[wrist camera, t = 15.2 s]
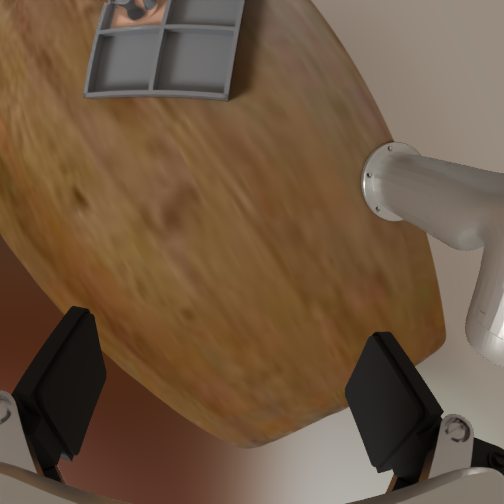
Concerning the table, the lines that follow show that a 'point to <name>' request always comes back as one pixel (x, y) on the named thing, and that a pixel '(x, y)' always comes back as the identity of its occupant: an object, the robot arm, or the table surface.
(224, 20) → the gray compartment tray
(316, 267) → the table surface
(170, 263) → the table surface
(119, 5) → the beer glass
